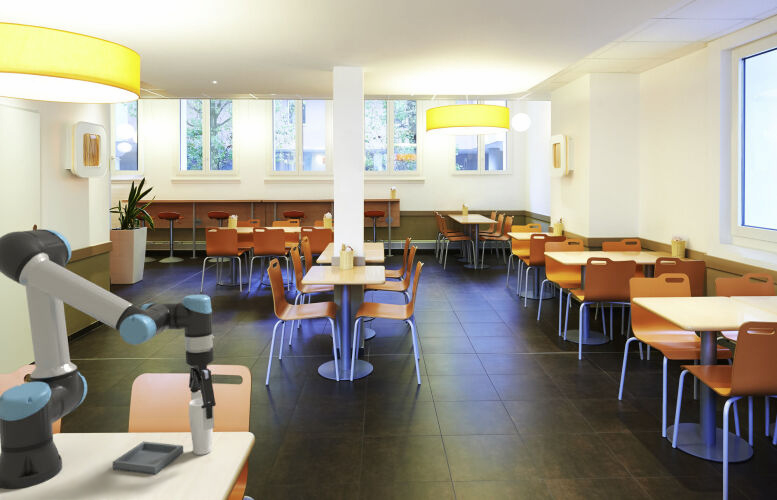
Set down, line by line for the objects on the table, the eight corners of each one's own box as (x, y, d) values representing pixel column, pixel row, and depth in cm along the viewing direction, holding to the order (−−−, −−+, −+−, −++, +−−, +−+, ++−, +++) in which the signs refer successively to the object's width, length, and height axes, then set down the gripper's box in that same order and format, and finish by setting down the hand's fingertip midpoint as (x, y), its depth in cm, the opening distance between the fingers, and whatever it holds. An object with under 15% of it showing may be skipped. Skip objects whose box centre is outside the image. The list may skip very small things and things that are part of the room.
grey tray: (112, 469, 150) (112, 461, 149) (143, 448, 162) (143, 441, 162) (155, 474, 147) (154, 466, 147) (183, 452, 159) (183, 445, 159)
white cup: (207, 457, 156) (205, 406, 155) (185, 455, 158) (183, 405, 156) (219, 447, 163) (217, 398, 162) (198, 445, 164) (196, 396, 163)
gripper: (225, 357, 149) (228, 432, 151) (201, 338, 170) (204, 404, 172) (196, 361, 145) (200, 439, 147) (176, 342, 166) (179, 410, 168)
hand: (202, 420), depth 159 cm, fingers open, 13 cm apart
